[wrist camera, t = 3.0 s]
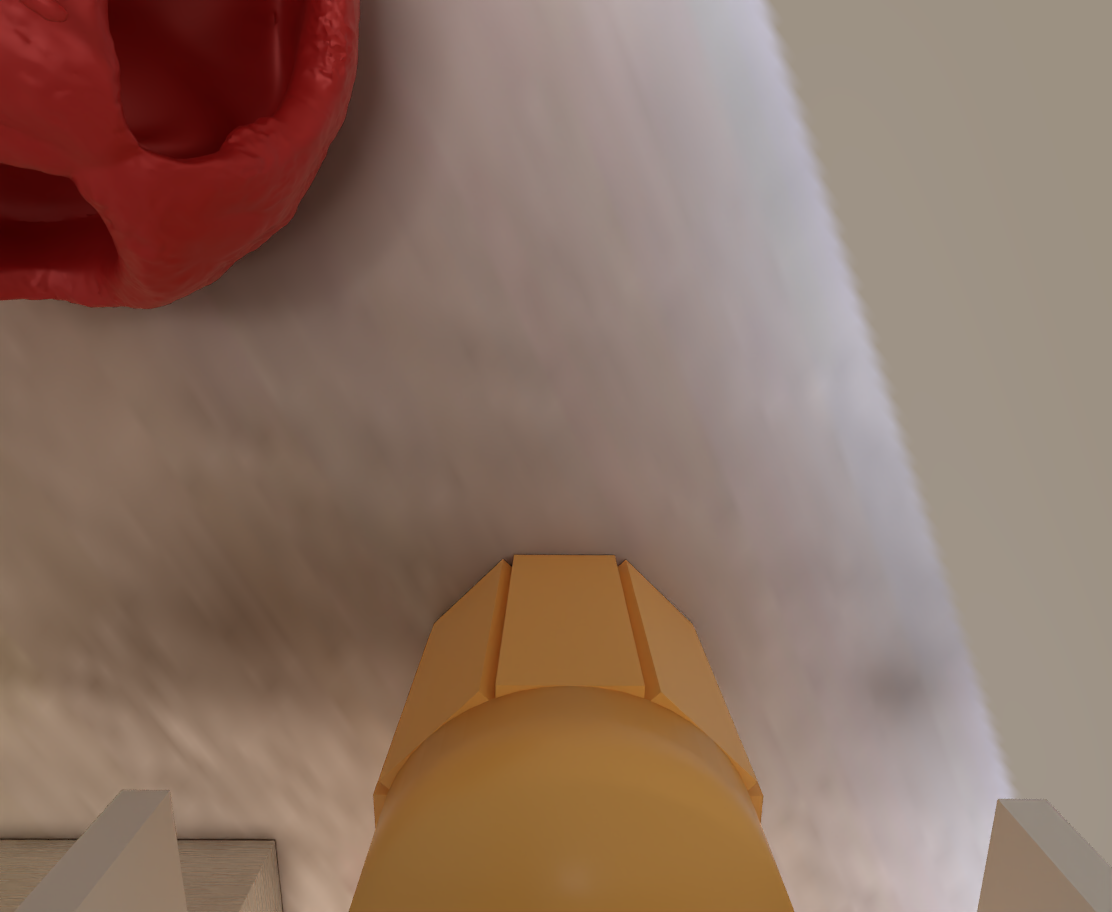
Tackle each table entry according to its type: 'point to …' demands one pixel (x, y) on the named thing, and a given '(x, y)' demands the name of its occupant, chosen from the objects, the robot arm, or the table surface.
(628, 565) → the wire nut
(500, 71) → the table surface
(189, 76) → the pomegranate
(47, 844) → the plate
